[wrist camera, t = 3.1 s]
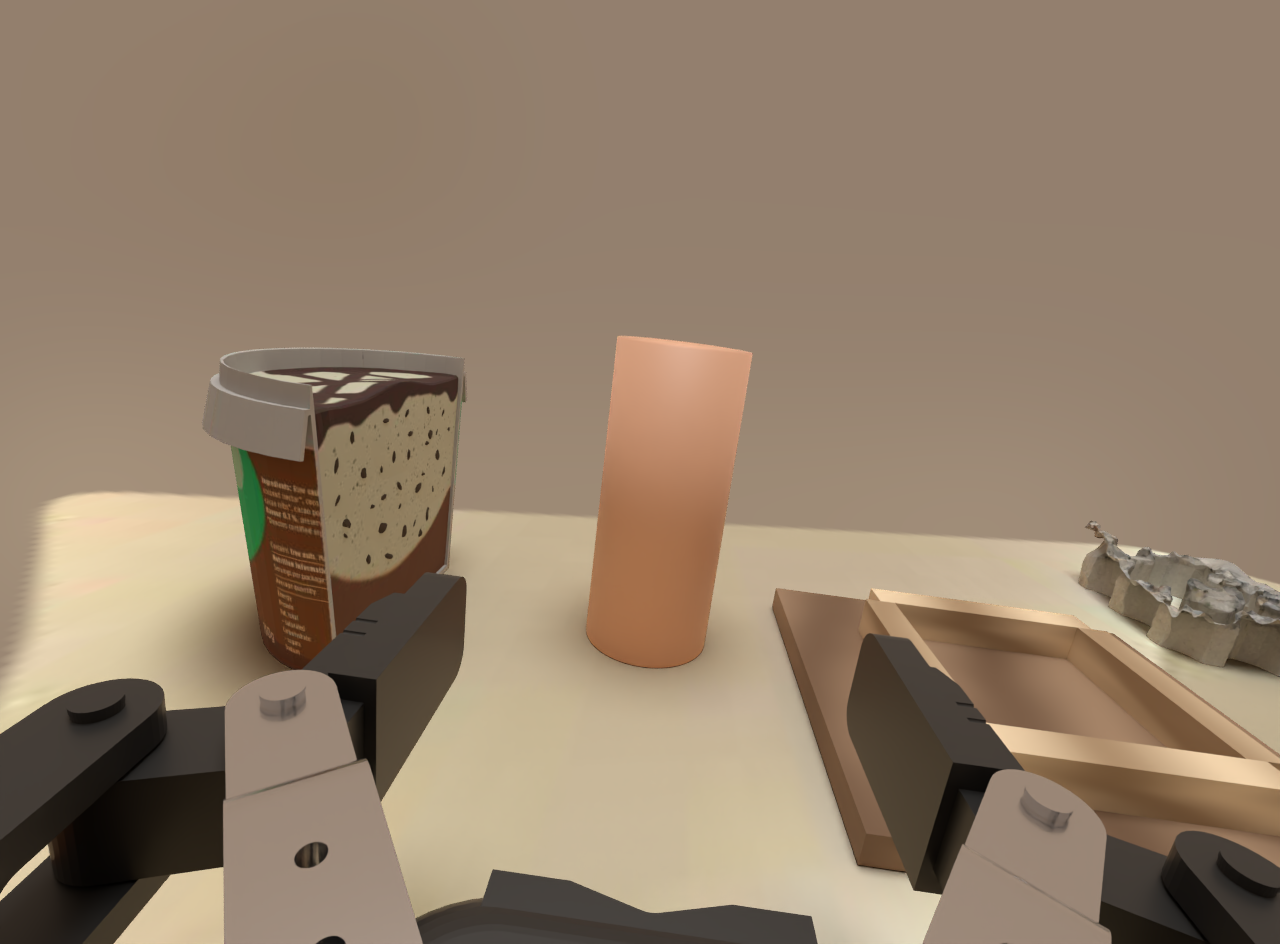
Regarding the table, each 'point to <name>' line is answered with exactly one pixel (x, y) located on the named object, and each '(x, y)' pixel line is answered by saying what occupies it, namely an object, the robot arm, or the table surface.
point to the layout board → (1042, 717)
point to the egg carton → (1189, 603)
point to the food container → (337, 479)
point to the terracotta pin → (664, 497)
